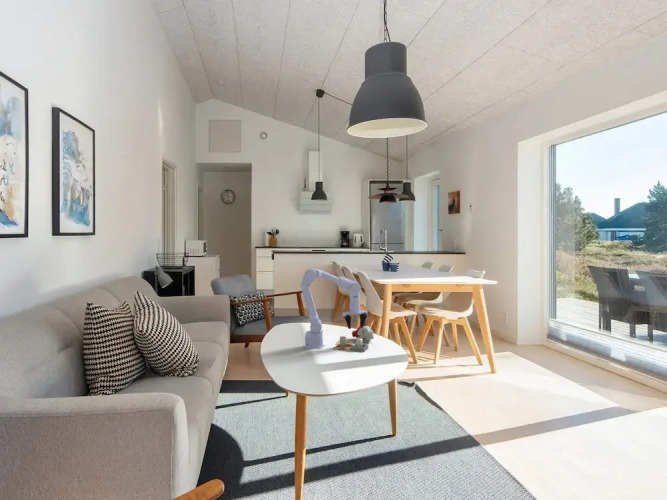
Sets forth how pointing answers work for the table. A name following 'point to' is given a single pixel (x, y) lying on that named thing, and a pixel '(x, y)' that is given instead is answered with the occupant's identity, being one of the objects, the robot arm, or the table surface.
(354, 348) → the slate dish
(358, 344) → the pale grey capsule
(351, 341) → the oak lid
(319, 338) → the robot arm
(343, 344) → the grey capsule cylinder
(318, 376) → the table surface
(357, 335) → the white and red lump
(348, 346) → the oak box
